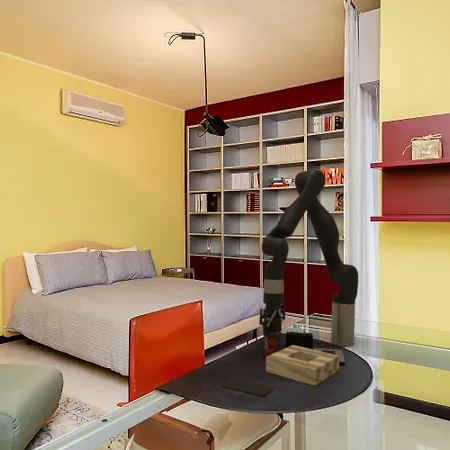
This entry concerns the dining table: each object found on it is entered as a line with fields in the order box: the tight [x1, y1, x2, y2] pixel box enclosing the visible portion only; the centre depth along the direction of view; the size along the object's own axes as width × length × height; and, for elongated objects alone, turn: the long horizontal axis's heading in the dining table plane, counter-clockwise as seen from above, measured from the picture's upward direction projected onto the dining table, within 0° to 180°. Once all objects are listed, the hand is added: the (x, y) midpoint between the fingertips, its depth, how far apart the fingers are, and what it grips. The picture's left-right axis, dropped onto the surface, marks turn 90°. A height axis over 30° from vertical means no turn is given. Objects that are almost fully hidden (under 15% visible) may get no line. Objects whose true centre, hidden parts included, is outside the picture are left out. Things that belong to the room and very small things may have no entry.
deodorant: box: [263, 315, 282, 358], centre depth 155 cm, size 6×6×15 cm
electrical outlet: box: [313, 347, 346, 364], centre depth 154 cm, size 13×10×2 cm
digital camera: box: [285, 331, 314, 350], centre depth 163 cm, size 10×5×7 cm, turn 81°
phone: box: [220, 377, 274, 398], centre depth 126 cm, size 7×1×15 cm
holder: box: [265, 345, 340, 387], centre depth 141 cm, size 18×18×5 cm
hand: (272, 334), depth 155 cm, fingers open, 8 cm apart
